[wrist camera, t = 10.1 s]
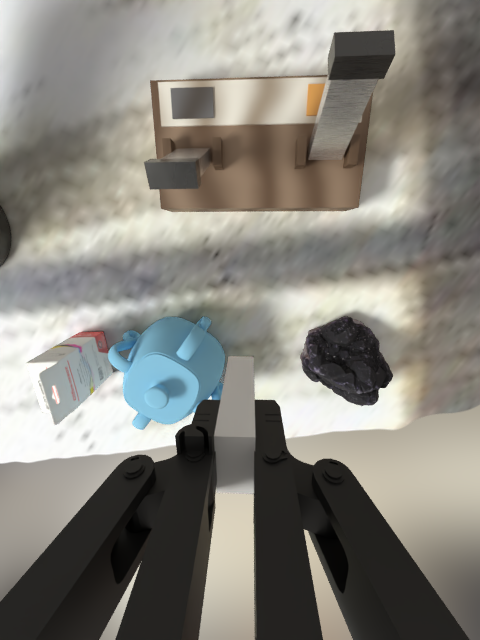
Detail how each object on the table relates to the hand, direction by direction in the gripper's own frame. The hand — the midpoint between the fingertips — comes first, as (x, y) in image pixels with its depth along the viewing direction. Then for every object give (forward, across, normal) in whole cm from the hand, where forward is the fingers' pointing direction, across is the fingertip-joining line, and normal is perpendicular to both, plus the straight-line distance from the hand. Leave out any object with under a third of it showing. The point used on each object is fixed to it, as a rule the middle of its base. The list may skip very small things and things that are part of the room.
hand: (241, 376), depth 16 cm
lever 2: (+23, +10, +17) cm, 30 cm away
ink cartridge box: (+29, -28, -12) cm, 42 cm away
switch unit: (+29, +2, +18) cm, 34 cm away
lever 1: (+23, -6, +18) cm, 30 cm away
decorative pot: (+29, -12, -12) cm, 34 cm away
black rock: (+29, +16, -11) cm, 35 cm away
